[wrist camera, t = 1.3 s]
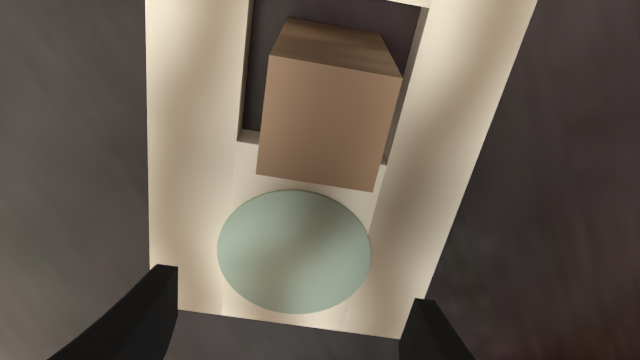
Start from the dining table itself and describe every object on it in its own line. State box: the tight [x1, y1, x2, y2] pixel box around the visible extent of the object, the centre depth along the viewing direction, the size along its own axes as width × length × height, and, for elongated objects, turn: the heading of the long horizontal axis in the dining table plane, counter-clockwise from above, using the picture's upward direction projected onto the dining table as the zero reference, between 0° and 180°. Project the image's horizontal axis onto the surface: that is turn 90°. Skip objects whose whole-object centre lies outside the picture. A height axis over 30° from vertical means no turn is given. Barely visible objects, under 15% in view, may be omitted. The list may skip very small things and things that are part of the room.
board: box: [145, 0, 537, 339], centre depth 22 cm, size 15×20×2 cm
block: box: [256, 16, 403, 193], centre depth 17 cm, size 4×4×7 cm
